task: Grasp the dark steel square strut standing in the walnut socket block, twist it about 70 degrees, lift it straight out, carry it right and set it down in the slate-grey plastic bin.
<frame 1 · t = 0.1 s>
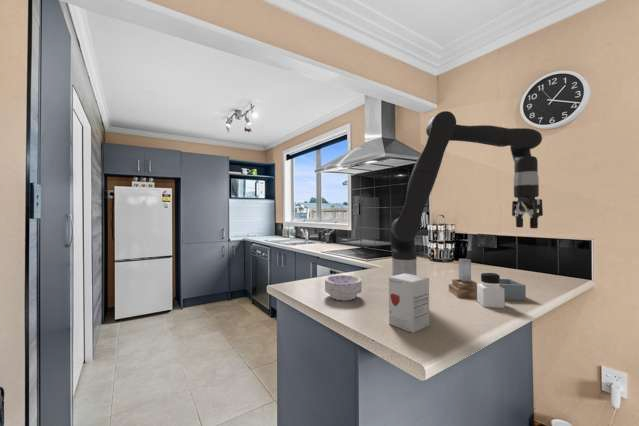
hand: (526, 227, 104), 29 cm above the table, fingers open, 8 cm apart
supplement box: (408, 325, 86), on the table
socket block: (465, 294, 120), on the table
pale lilac bowl: (343, 298, 115), on the table
medicine bottle: (490, 305, 105), on the table
bin: (503, 295, 117), on the table
strut: (464, 287, 120), point 3 cm above the table, touching socket block
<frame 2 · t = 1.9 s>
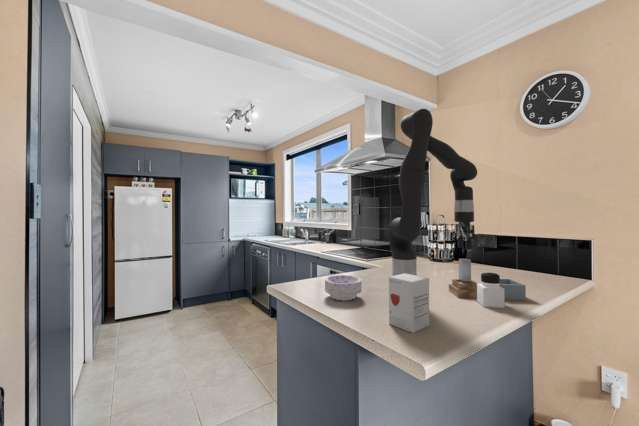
hand: (464, 248, 120), 20 cm above the table, fingers open, 8 cm apart
nothing on the table moved.
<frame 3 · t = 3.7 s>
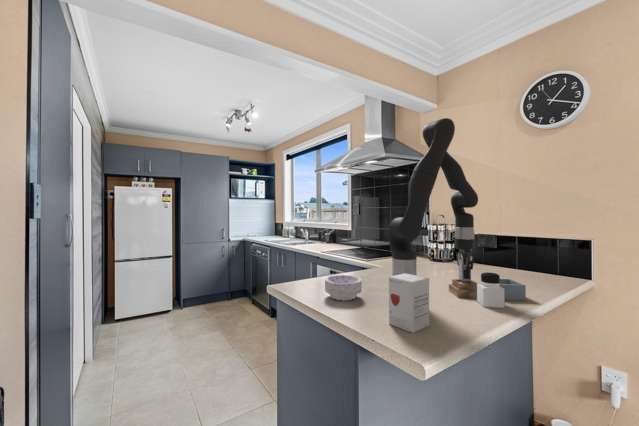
hand: (464, 277, 120), 7 cm above the table, fingers closed on strut, 3 cm apart
strut: (464, 287, 120), point 3 cm above the table, touching gripper, socket block
everything else where it was.
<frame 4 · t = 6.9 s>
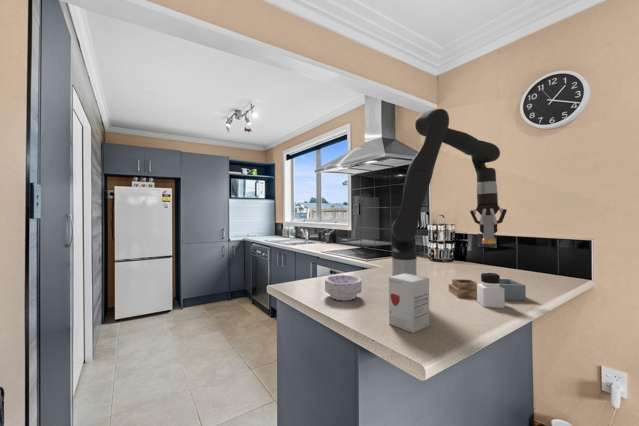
hand: (488, 233, 118), 26 cm above the table, fingers closed on strut, 3 cm apart
strut: (488, 243, 118), point 22 cm above the table, touching gripper
everything else where it was.
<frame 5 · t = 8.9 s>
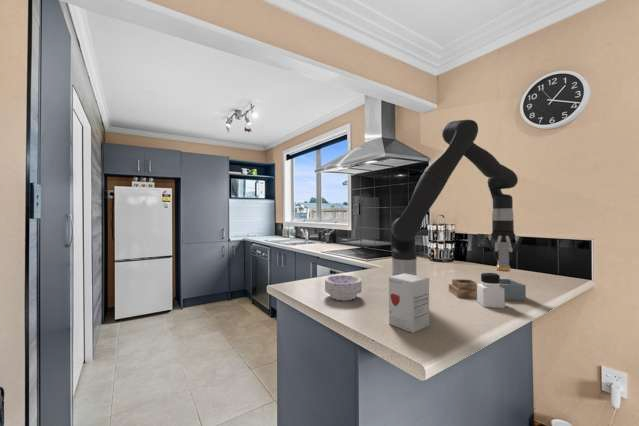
hand: (503, 260, 117), 15 cm above the table, fingers closed on strut, 3 cm apart
strut: (503, 270, 117), point 11 cm above the table, touching gripper
everything else where it was.
when the fingers open (7 cm above the table, at t = 10.5 s): strut drops 2 cm, resting on bin.
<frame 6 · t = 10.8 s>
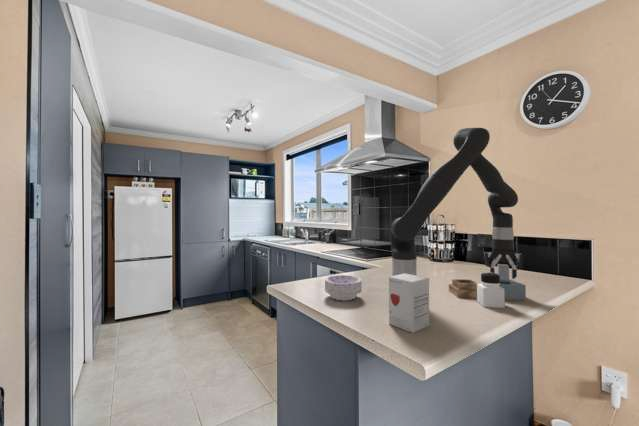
hand: (503, 277, 117), 8 cm above the table, fingers open, 6 cm apart
strut: (503, 293, 117), point 1 cm above the table, touching bin
everything else where it was.
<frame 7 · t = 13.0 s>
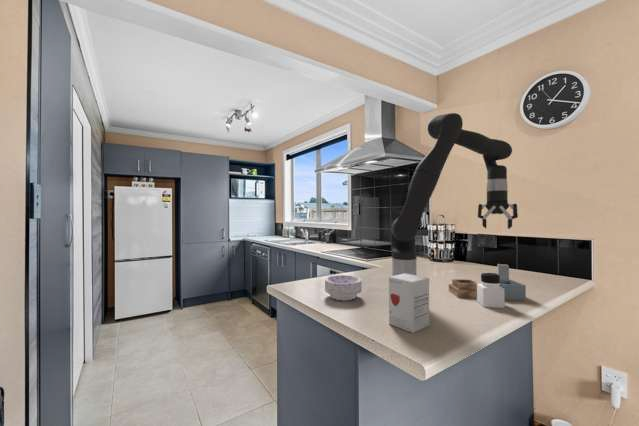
hand: (497, 228, 119), 28 cm above the table, fingers open, 8 cm apart
nothing on the table moved.
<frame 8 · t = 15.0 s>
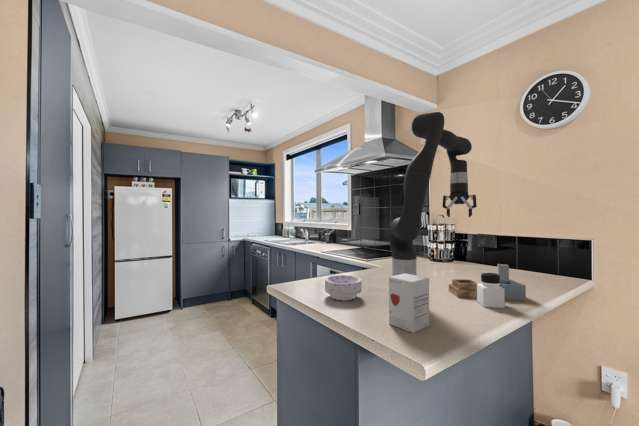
hand: (459, 217, 131), 33 cm above the table, fingers open, 8 cm apart
nothing on the table moved.
at the end: strut inside the target area on the bin (0.1 cm from its centre), point 1.0 cm above the bin's base; the gripper is holding nothing; strut touching bin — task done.
